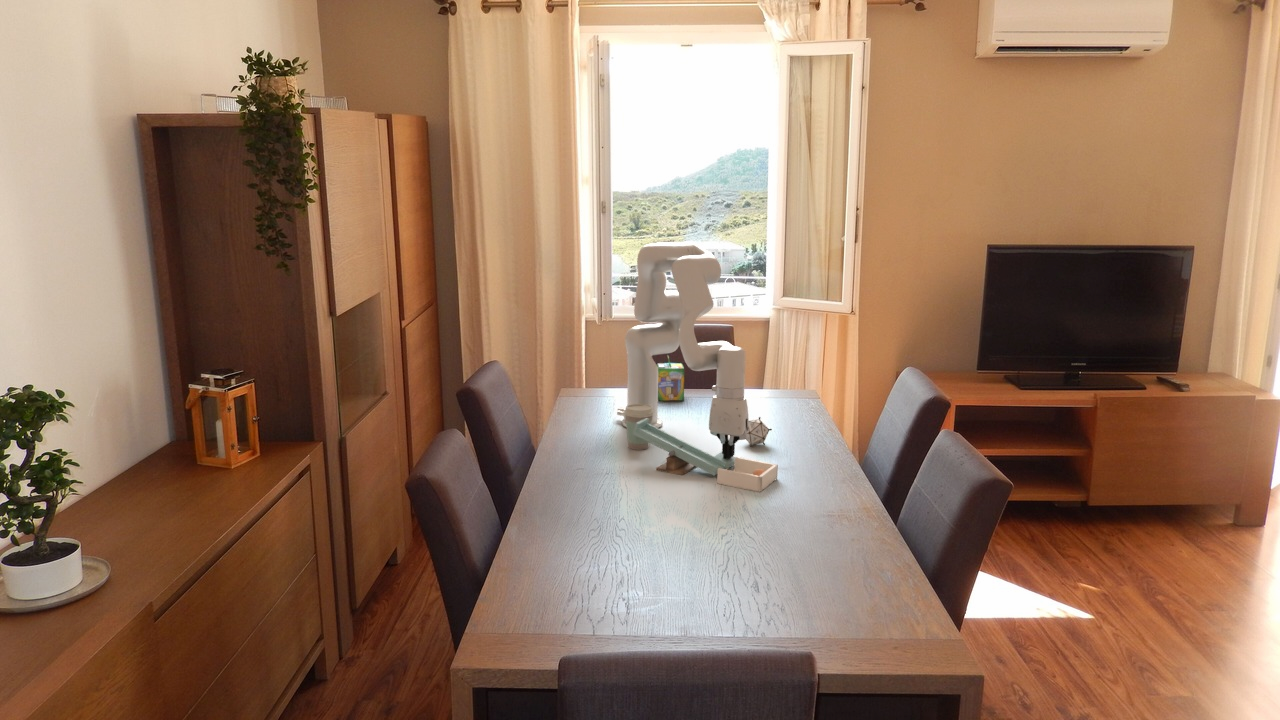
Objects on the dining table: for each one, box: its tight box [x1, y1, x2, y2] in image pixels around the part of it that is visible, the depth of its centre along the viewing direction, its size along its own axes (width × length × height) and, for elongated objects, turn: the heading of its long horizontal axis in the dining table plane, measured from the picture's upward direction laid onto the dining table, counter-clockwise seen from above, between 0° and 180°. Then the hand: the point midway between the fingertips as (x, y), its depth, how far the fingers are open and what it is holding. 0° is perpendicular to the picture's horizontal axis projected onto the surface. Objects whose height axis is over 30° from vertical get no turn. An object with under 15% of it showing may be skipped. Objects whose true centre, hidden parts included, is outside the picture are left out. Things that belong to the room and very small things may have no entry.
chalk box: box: [656, 354, 685, 402], centre depth 327 cm, size 9×9×15 cm
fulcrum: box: [655, 455, 697, 476], centre depth 257 cm, size 8×10×4 cm
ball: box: [753, 469, 765, 476], centre depth 246 cm, size 4×4×4 cm
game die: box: [745, 416, 773, 448], centre depth 277 cm, size 9×8×10 cm
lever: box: [633, 418, 736, 477], centre depth 259 cm, size 26×16×4 cm, turn 61°
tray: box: [716, 456, 779, 493], centre depth 247 cm, size 12×12×4 cm
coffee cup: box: [624, 404, 654, 451], centre depth 273 cm, size 8×8×12 cm
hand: (728, 457), depth 259 cm, fingers closed
